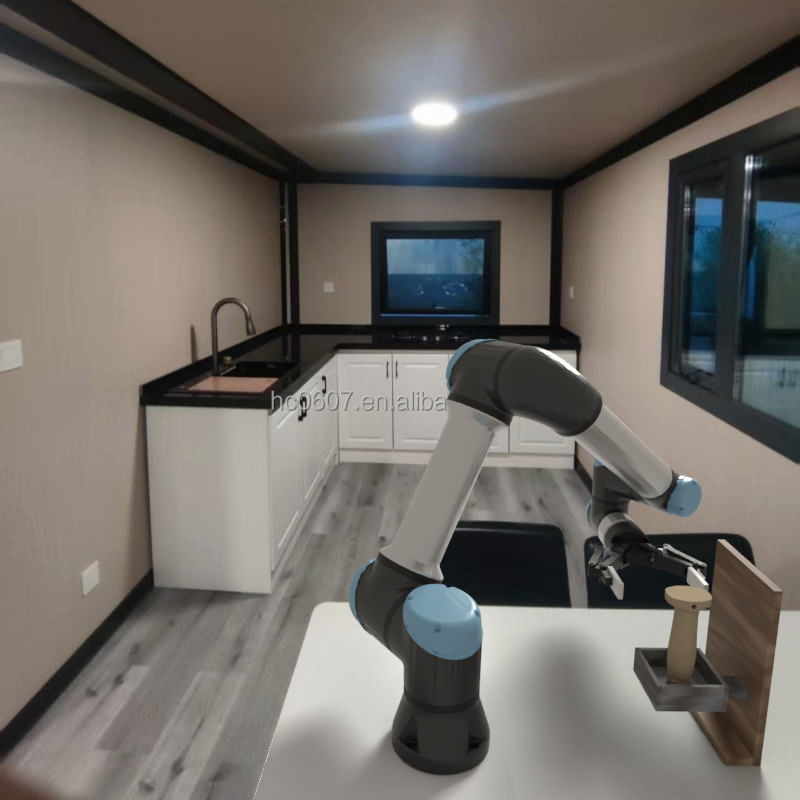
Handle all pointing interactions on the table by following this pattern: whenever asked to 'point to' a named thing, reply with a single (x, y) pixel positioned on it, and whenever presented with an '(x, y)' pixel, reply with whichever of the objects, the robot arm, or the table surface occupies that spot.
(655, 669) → the bracket
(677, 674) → the handle
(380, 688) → the table surface
